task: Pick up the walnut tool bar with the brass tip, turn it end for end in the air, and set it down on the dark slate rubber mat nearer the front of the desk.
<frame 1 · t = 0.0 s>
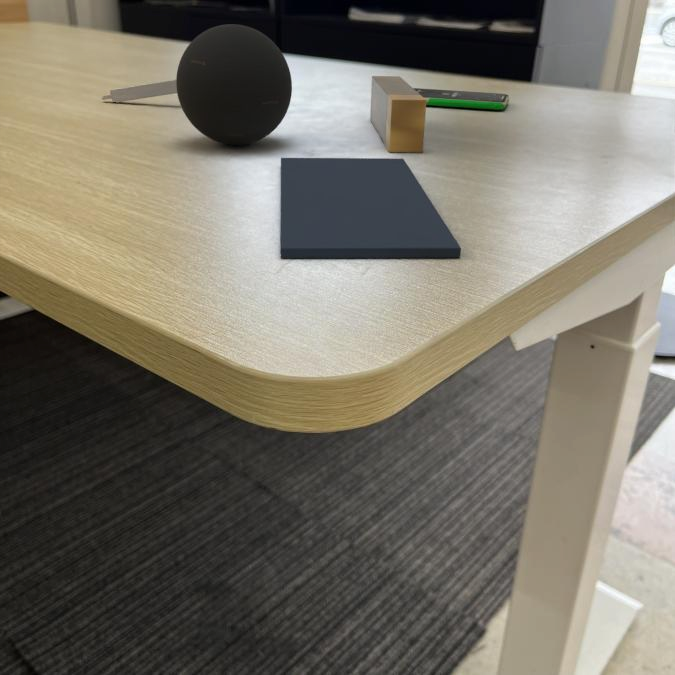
mat: (354, 202, 51), on the table
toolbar: (393, 134, 73), on the table
speaker: (236, 146, 68), on the table
caliper: (184, 108, 85), on the table
smartphone: (444, 103, 92), on the table
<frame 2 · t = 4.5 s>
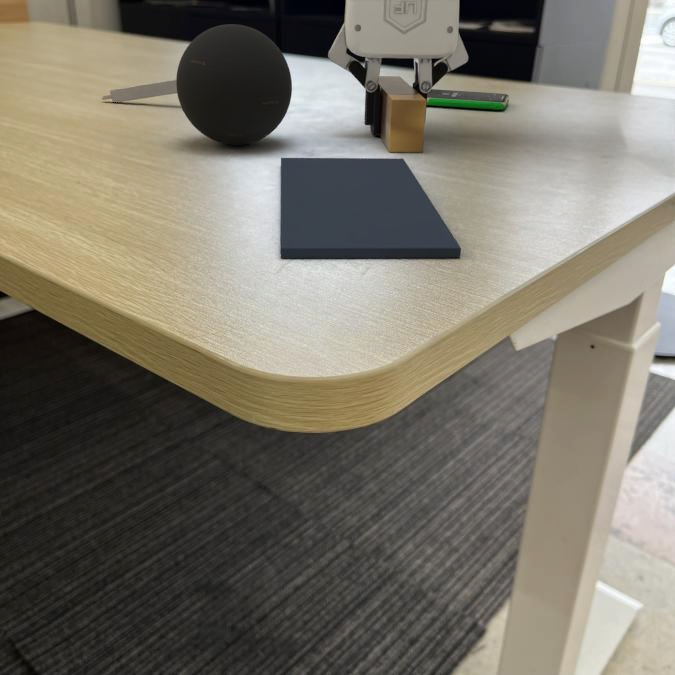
hand: (394, 131, 73), 0 cm above the table, tool pointing down, fingers closed on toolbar, 3 cm apart
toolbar: (393, 134, 73), on the table, touching gripper
everything else where it was.
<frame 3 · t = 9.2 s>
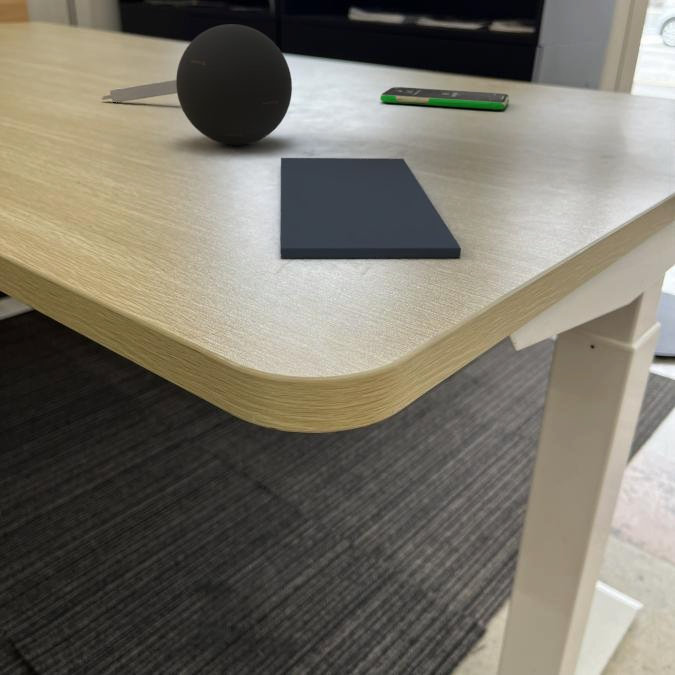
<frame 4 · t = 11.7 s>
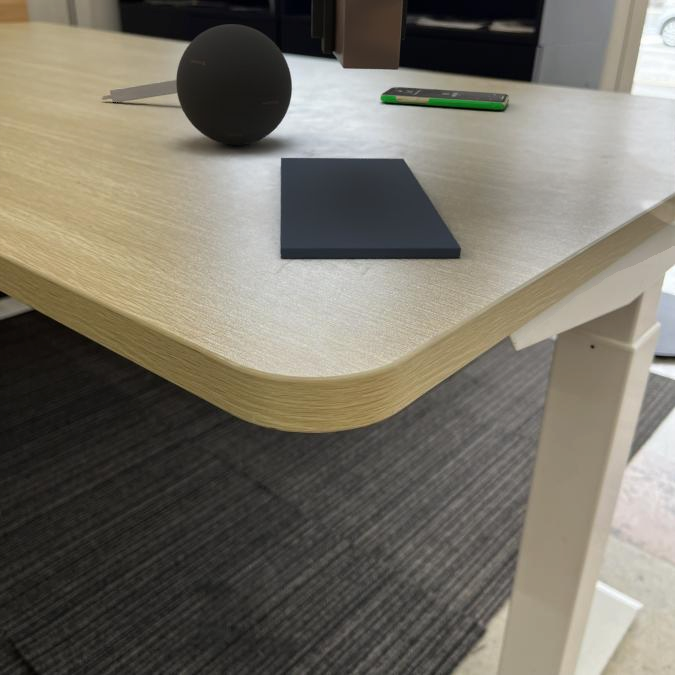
hand: (357, 49, 47), 10 cm above the table, tool pointing down, fingers closed on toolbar, 3 cm apart
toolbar: (357, 54, 47), point 10 cm above the table, touching gripper
everything else where it was.
when the fingers open (1 cm above the table, at t = 14.0 s): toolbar stays where it is, resting on mat.
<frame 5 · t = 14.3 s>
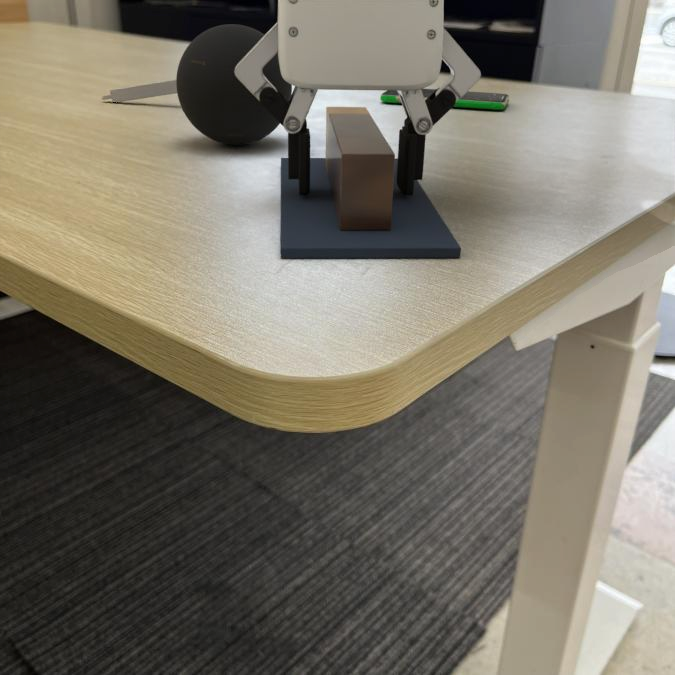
hand: (354, 187, 51), 1 cm above the table, tool pointing down, fingers open, 6 cm apart
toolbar: (353, 194, 51), point 1 cm above the table, touching mat
everything else where it was.
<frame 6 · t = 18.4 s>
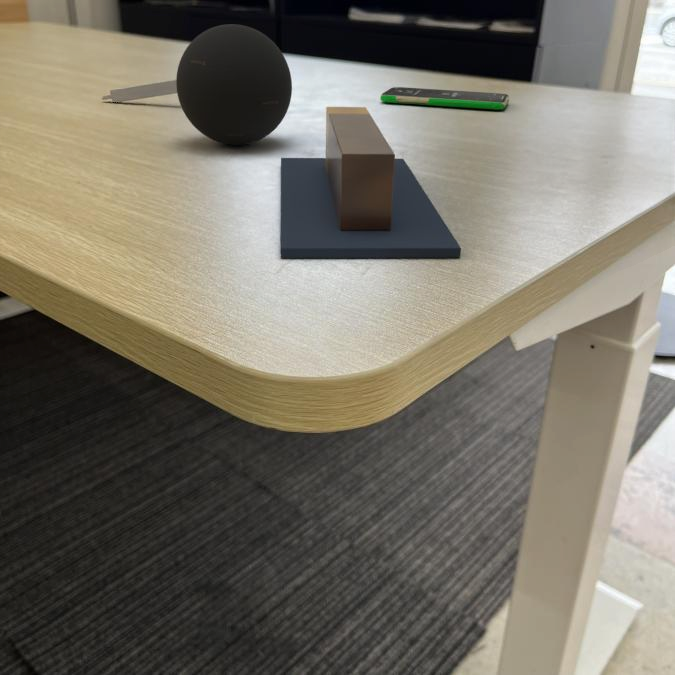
nothing on the table moved.
at the end: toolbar inside the target area on the mat (0.0 cm from its centre), point 0.6 cm above the mat's base; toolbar tilted 0°; the gripper is holding nothing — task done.
